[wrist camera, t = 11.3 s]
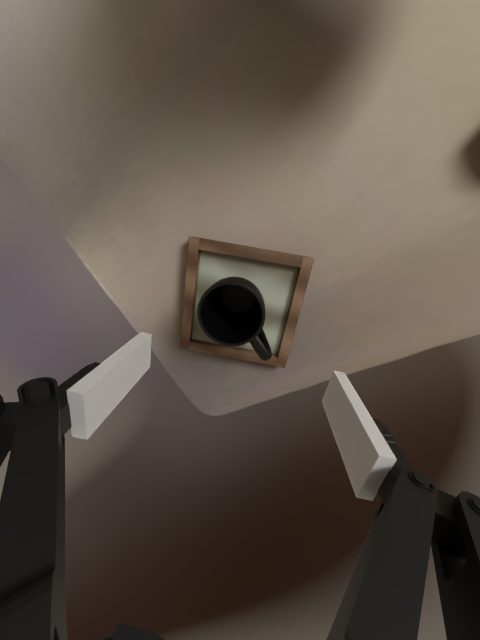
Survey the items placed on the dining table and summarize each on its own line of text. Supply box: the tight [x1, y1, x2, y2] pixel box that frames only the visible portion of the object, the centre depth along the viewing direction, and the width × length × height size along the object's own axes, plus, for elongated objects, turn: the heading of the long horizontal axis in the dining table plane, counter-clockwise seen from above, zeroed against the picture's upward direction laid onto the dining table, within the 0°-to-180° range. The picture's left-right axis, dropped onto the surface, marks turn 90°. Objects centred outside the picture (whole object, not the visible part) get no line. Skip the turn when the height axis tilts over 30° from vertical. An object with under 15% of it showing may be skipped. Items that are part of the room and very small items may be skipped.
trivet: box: [180, 237, 314, 368], centre depth 36 cm, size 18×18×2 cm
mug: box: [197, 277, 272, 361], centre depth 32 cm, size 8×12×10 cm
